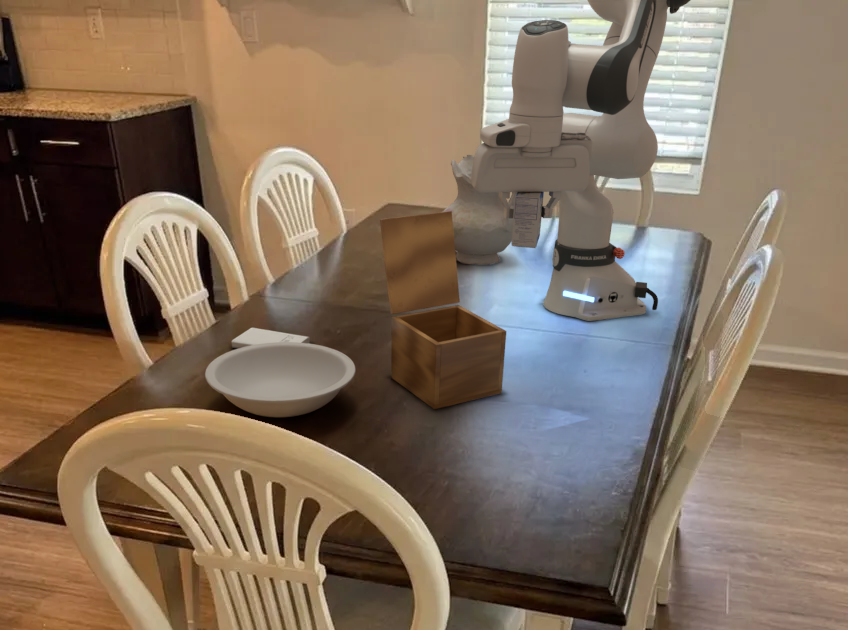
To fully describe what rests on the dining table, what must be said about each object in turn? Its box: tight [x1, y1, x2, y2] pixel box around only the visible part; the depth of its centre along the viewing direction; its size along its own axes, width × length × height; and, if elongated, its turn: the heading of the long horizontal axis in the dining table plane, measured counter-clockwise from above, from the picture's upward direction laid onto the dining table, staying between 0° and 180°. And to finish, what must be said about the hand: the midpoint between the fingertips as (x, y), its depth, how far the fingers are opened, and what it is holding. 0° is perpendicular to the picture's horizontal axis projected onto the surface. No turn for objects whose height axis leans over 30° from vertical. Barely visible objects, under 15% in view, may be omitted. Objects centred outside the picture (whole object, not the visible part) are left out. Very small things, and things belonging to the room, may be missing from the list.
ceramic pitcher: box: [442, 154, 517, 266], centre depth 212 cm, size 22×20×25 cm
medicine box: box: [511, 192, 545, 249], centre depth 148 cm, size 8×4×9 cm, turn 169°
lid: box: [379, 211, 461, 315], centre depth 146 cm, size 16×14×1 cm
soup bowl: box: [204, 342, 356, 418], centre depth 139 cm, size 24×24×7 cm
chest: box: [390, 304, 507, 410], centre depth 147 cm, size 15×14×11 cm
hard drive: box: [231, 327, 311, 349], centre depth 163 cm, size 2×8×12 cm
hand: (527, 217), depth 148 cm, fingers closed on medicine box, 5 cm apart
